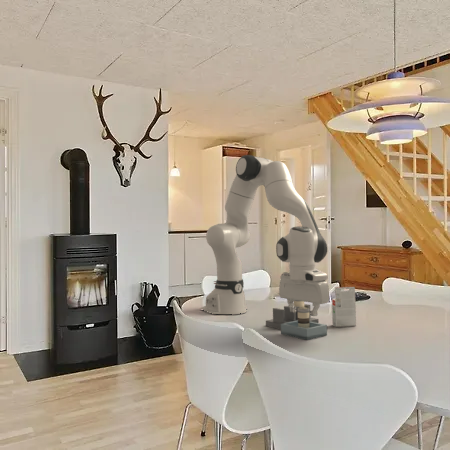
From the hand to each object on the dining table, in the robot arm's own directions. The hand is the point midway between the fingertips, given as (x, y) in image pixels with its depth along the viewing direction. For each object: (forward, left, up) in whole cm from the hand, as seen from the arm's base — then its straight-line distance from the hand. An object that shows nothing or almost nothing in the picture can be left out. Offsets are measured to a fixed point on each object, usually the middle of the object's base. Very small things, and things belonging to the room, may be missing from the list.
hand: (303, 313), depth 159 cm
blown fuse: (0, 0, -6) cm, 6 cm away
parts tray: (0, 0, -7) cm, 7 cm away
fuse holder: (-13, +8, -7) cm, 17 cm away
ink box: (+1, +21, -7) cm, 22 cm away
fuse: (-13, +12, -5) cm, 18 cm away
